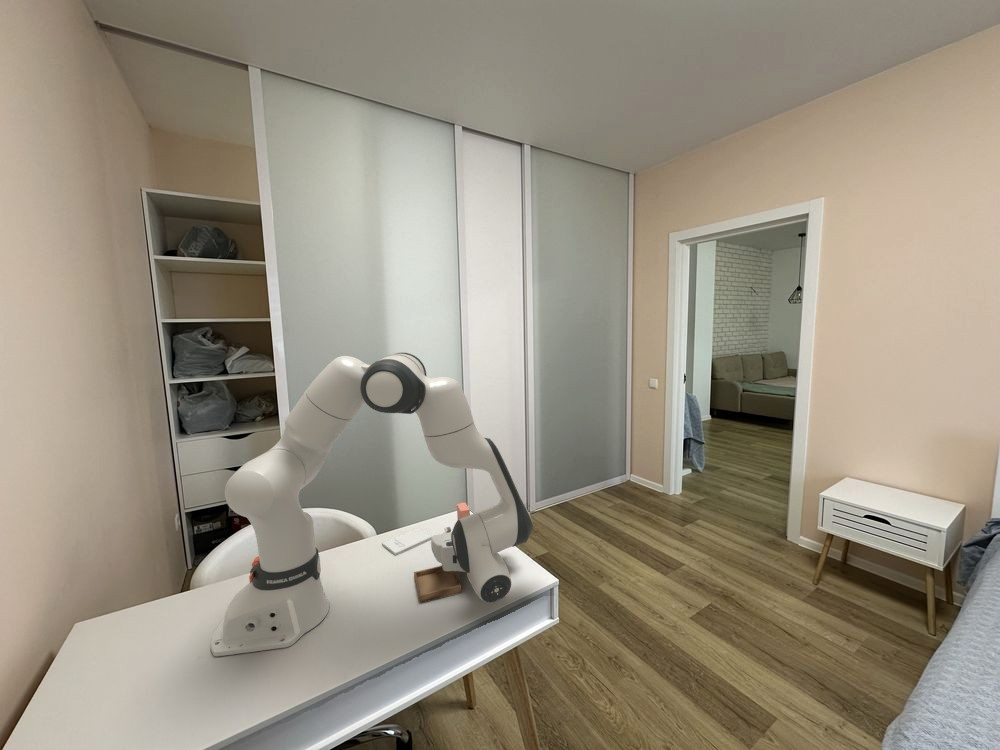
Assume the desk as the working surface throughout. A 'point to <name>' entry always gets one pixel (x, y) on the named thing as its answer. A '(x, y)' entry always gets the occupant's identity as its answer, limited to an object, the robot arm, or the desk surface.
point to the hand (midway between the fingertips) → (463, 526)
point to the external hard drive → (406, 541)
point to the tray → (436, 584)
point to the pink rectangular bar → (462, 510)
